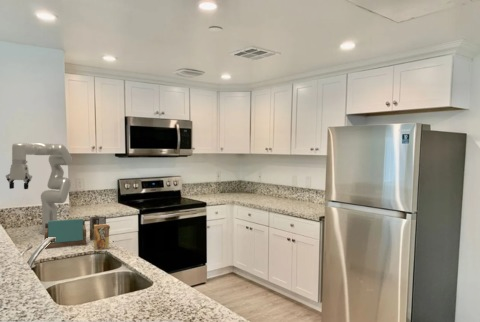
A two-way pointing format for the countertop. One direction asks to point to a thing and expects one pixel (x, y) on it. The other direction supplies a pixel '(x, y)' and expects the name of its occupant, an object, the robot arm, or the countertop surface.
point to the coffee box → (95, 221)
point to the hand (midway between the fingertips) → (18, 188)
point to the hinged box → (66, 244)
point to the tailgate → (66, 230)
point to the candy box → (101, 236)
